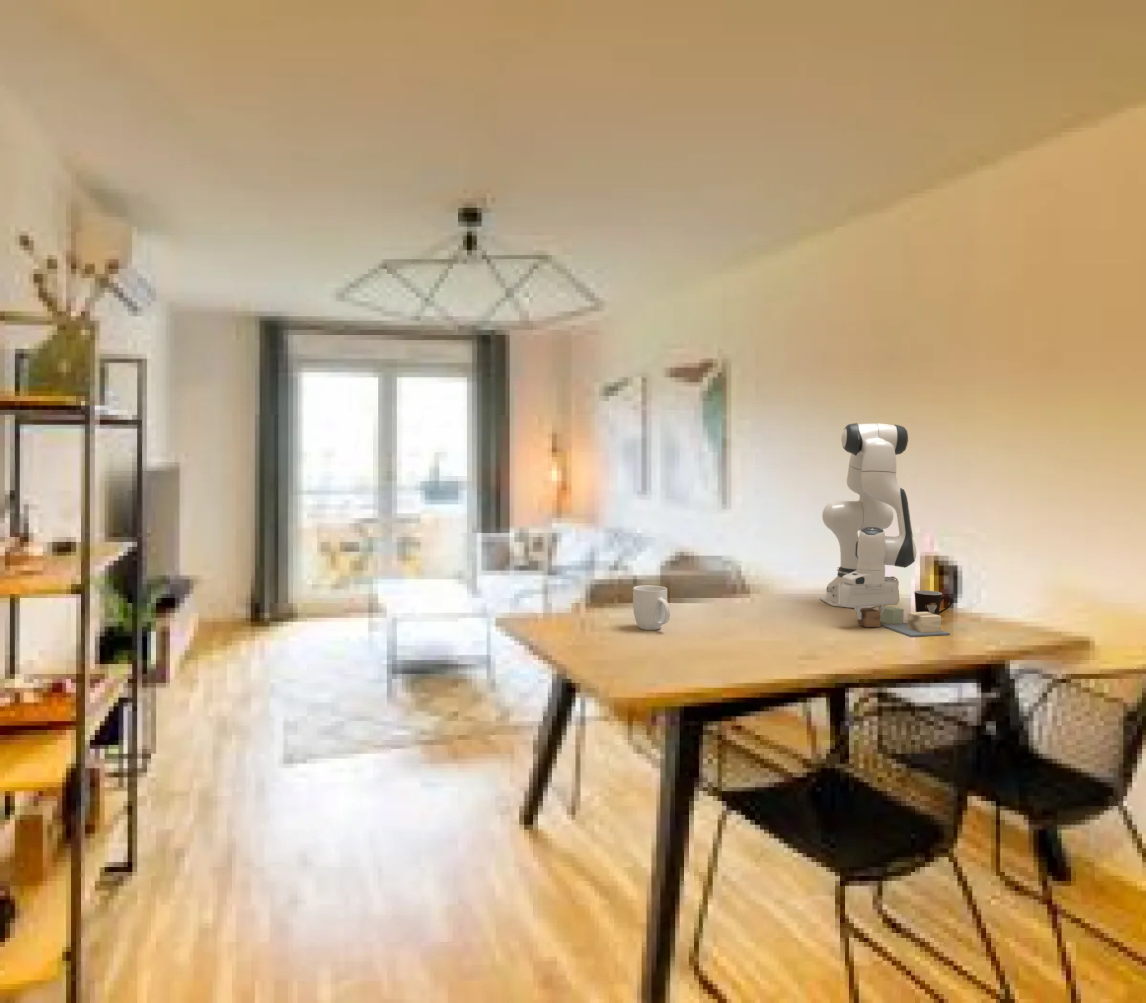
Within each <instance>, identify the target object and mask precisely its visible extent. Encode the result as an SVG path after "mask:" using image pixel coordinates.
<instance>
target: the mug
mask: <svg viewBox="0 0 1146 1003" xmlns="http://www.w3.org/2000/svg"><path fill="white" fill-rule="evenodd" d="M632 590H633V591H632V608H633V615H634V620H635V622H636V625H637V626H638V628H639V629H641V630H645V631H656V630H659V629H661V627H662V626H663V625H666V624H667V623H669V621H670V618H671V609H670V605H669V602H668V587H665V586H660V585H649V584H648V585H647V584H646V585H643V584H642V585H637V586H634V587H633V588H632Z"/></svg>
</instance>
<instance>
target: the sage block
mask: <svg viewBox="0 0 1146 1003" xmlns="http://www.w3.org/2000/svg"><path fill="white" fill-rule="evenodd" d="M904 611H905V609H904V608H900V607H896V606H893V605H890V606H885V609H884V611H883V612H882V613H881V619H880V623H881V624H898V623H904Z"/></svg>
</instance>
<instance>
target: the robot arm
mask: <svg viewBox="0 0 1146 1003" xmlns="http://www.w3.org/2000/svg"><path fill="white" fill-rule="evenodd" d="M841 433H842V434H841V445H842V448H843V450H844V451H846V452H847V453H848V454H850V456H849V463H848V470H847V477H846V485H847V487H848V489H849V490H850V491H852V492H853V493H855V494H857V495H859V498H858V499H859V500H838V501H834V502H829V503H827V504H826V505H825V506H824V508H823V510H822V515H821V516H822V517H821V518H822V522H823V524H824V526H826V527H827V528H828V529H829V530H830V531H831V532H832V533H833V534H834V536H835V538H836V539H837V540H838V544H839V550H840V553H839V554H840V566H839V567H838V569H836V571H837V574H836V575H837V576H836V577H834V579H833V580H832V581H830V582H829V583H828V584H827V586H826V589H825V590H826V592H825V593H826V594H825V595H821V596H819V600H821V601H823V603H824V602H825V603H827V604H828V605H830V606H832V607H842V608H850V609H854V611H855V613H856V619H857V620H858V619H859V620H861V619H864V614H862V613H861V611H860V609H870V608H872V609H873V608H875V607H876V606H877V610H878V611H881V613H882V612H883V611H884V609H885V607H886V606H895V605H896V606H897V605H898V604H899V603H900V590H899V583H900V582H899V581H900V580H899V579H898V578H897V577H896V576H886V566H894V567H899V568H907V567H910V566H911V565H912V564H914V563H915V562H916V558H917V547H916V544H915V541H914V537H913V531H912V530H913V529H912V523H911V522H912V520H911V516H910V508H909V502H908V496H907V493H906V491H905V489H903V488H902V487H901V486H900V485H899V483H898V479H897V458H896V457H897V456H896V455H900V454H903V453H904V452H905V451H906V450H907V447H908V444H909V434H908V430H907V429H906V428H905V427H904V426H902V425H900V424H887V423H879V422H876V423H858V422H856V423H850V424H847V425H846V426H845V427H844V428H843V431H842V432H841ZM893 509H894V511H895V513H896V518H897V519H896V520H897V526H898V532H899V534H898V535H897V536H887V535H886V533H885V530H886V529H889V528H890V526H891V525H892V524H893V520H894V512H893ZM858 531H859V534H858ZM881 613H880V620H881Z"/></svg>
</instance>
